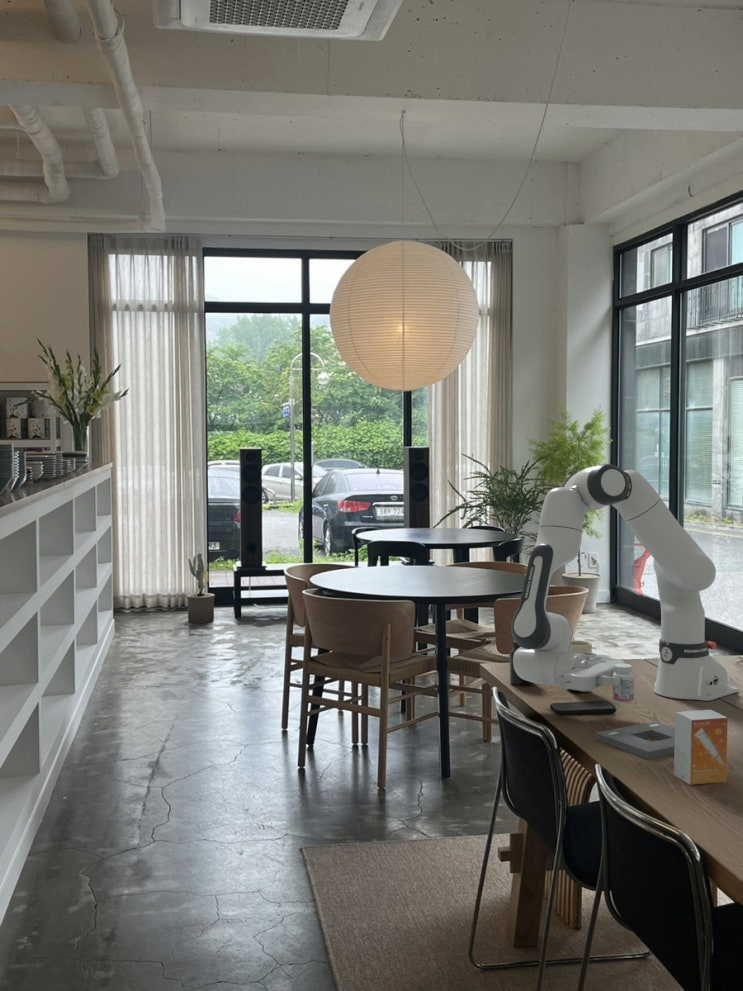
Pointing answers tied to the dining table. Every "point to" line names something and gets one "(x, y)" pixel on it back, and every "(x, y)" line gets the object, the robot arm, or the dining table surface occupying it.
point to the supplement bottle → (513, 675)
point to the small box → (700, 746)
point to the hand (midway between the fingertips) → (626, 679)
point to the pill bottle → (624, 684)
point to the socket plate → (641, 739)
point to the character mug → (580, 649)
